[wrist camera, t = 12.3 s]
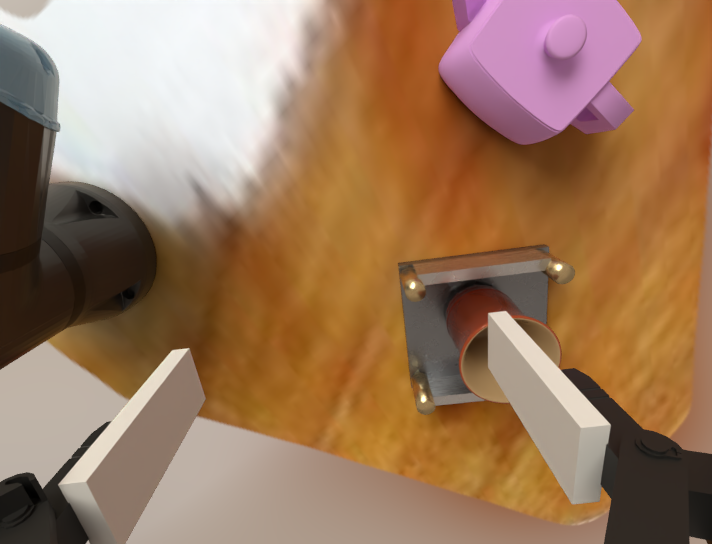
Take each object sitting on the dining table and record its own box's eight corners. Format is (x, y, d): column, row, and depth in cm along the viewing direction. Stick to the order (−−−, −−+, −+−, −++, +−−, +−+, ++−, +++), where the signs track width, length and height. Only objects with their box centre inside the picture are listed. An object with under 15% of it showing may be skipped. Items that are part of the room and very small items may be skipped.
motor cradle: (410, 383, 45) (417, 416, 40) (398, 263, 40) (404, 282, 35) (540, 369, 44) (566, 401, 39) (544, 244, 39) (575, 260, 34)
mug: (422, 300, 41) (441, 348, 31) (493, 260, 39) (537, 298, 29) (470, 377, 44) (501, 442, 34) (538, 343, 42) (591, 402, 32)
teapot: (396, 50, 34) (410, 11, 24) (474, -63, 31) (526, -159, 21) (532, 171, 37) (593, 180, 27) (614, 79, 34) (714, 53, 24)
